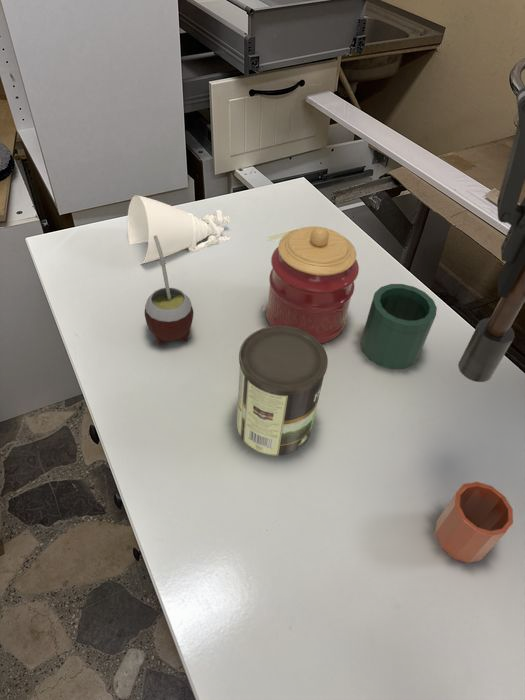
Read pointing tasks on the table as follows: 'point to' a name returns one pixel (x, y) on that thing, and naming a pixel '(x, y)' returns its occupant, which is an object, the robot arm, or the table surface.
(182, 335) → the mate gourd
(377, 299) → the jar
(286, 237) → the kitchen canister
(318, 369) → the coffee can
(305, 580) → the table surface
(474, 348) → the brush
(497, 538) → the holder
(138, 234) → the rocket engine
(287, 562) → the table surface
